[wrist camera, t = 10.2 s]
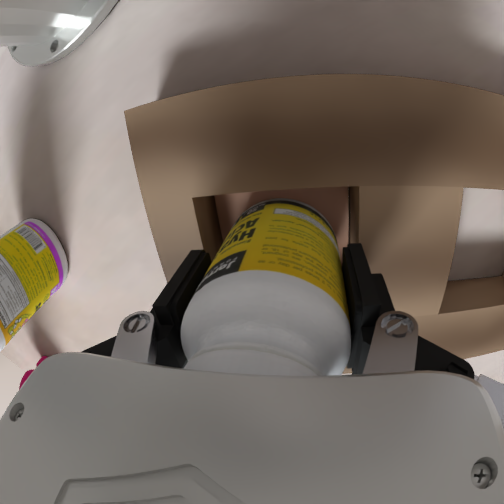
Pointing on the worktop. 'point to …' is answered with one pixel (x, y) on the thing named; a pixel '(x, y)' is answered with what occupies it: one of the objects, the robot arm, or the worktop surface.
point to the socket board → (336, 179)
